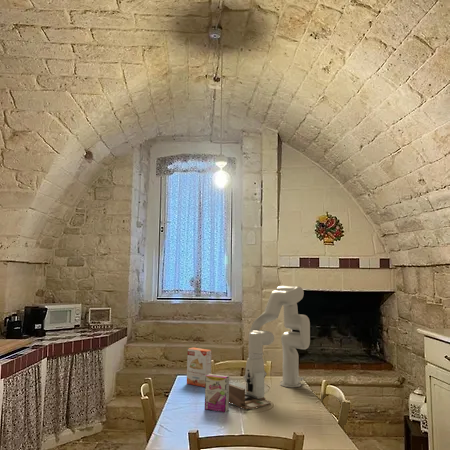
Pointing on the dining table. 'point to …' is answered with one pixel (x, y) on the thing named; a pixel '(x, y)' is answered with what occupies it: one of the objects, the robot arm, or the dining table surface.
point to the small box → (257, 385)
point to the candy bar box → (217, 392)
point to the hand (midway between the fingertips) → (255, 389)
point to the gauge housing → (239, 398)
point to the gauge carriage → (250, 397)
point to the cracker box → (198, 366)
